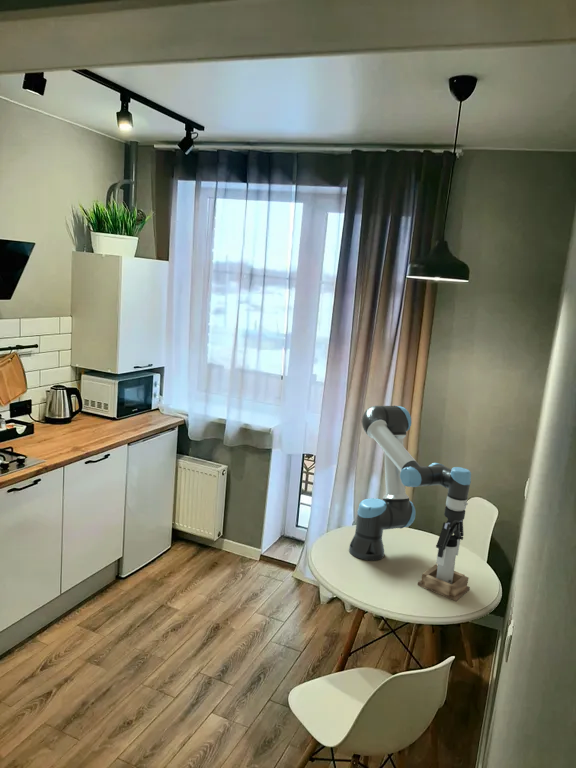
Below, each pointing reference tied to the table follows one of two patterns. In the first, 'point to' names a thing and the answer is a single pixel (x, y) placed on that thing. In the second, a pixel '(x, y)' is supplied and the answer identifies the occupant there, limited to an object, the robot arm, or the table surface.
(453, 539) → the travel mug
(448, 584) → the holder
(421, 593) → the table surface
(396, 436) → the robot arm
